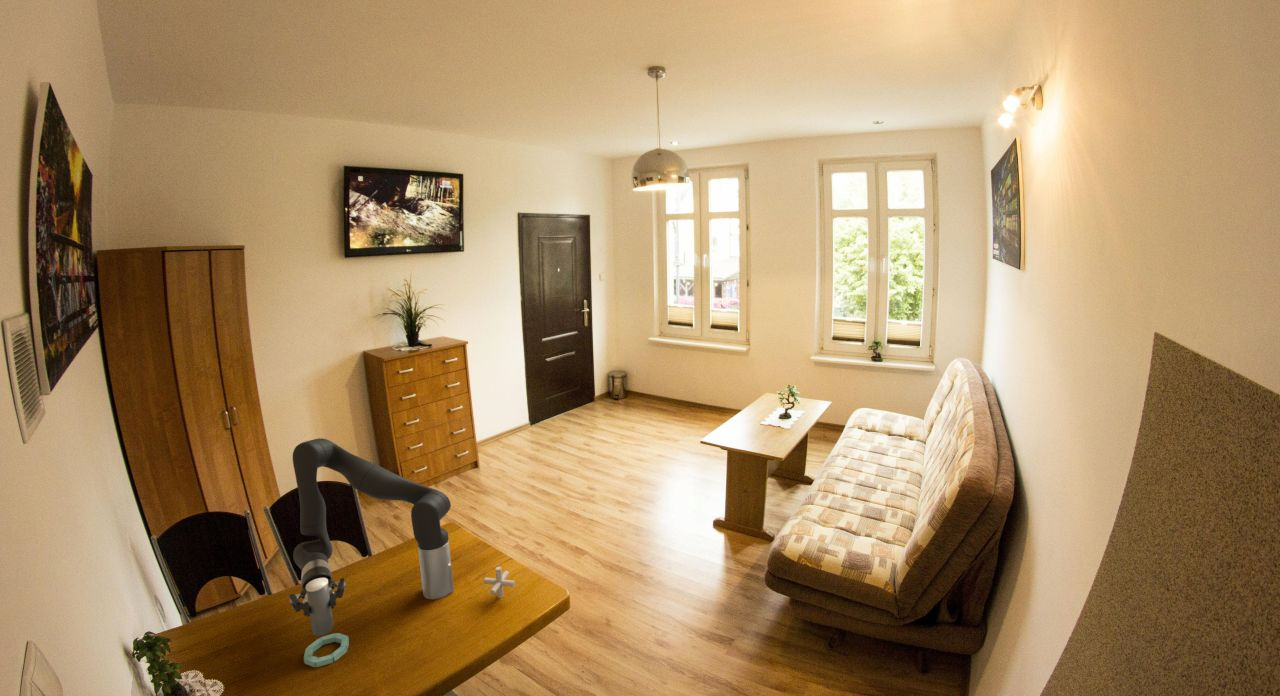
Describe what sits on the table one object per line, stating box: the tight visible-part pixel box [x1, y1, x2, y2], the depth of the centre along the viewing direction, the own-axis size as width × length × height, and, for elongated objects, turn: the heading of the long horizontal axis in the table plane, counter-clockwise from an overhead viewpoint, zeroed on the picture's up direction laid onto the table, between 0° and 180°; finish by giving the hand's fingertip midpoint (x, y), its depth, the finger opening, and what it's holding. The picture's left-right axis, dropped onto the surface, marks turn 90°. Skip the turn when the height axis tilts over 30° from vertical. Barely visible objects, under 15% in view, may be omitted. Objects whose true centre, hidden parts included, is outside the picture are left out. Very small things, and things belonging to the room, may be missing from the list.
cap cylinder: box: [306, 578, 334, 637], centre depth 143 cm, size 5×5×14 cm
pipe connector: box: [483, 566, 516, 599], centre depth 167 cm, size 10×10×10 cm
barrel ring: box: [303, 632, 350, 668], centre depth 145 cm, size 10×10×2 cm
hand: (320, 609), depth 141 cm, fingers closed on cap cylinder, 5 cm apart
